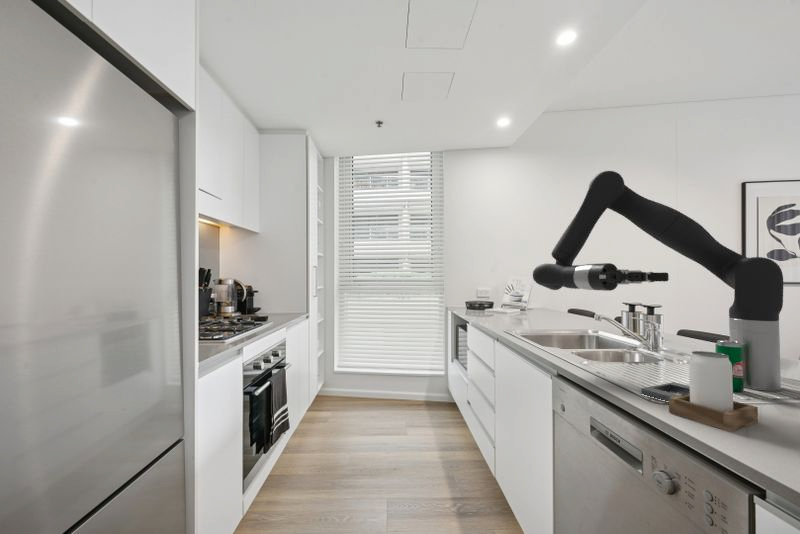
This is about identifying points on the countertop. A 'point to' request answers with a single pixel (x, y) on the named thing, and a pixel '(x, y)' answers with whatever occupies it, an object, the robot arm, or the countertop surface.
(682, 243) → the robot arm
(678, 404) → the open wooden box
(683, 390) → the gray rectangular tray
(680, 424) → the countertop surface
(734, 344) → the soda can
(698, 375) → the can
